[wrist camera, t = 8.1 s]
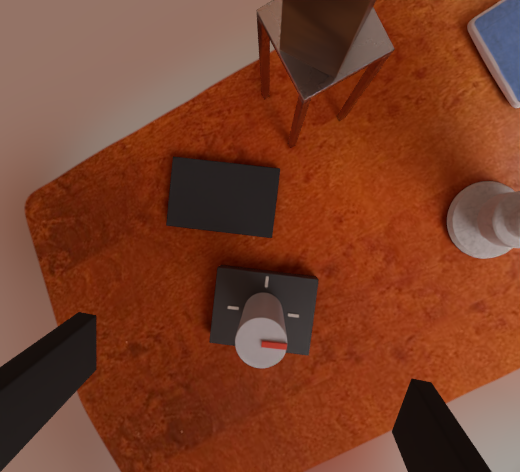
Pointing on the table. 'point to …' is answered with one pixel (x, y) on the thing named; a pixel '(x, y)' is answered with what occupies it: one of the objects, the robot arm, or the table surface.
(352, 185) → the table surface
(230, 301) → the panel
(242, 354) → the oven dial
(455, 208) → the table lamp
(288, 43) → the block
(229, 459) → the table surface
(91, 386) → the table surface
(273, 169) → the mat
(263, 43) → the square metal stool
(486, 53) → the tablet
